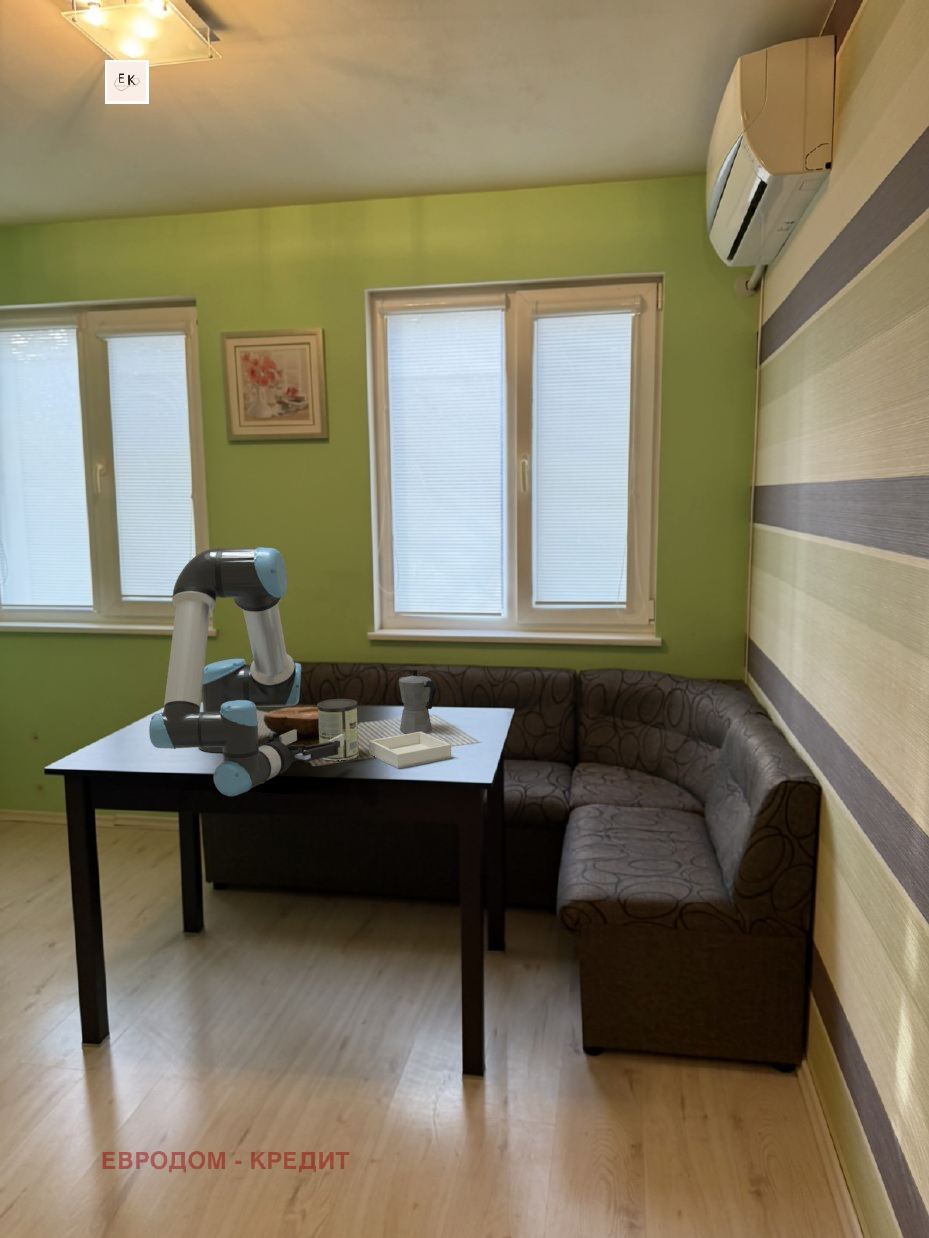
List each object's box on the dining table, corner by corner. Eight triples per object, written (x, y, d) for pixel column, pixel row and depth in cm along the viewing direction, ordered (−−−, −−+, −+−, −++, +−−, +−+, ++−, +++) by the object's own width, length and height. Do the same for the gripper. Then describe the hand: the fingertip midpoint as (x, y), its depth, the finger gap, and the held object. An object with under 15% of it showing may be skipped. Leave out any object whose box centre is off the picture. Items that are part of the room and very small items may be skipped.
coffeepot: (388, 729, 247) (387, 668, 245) (413, 723, 253) (412, 664, 251) (423, 739, 236) (422, 676, 234) (448, 733, 242) (447, 671, 240)
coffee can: (324, 749, 227) (323, 698, 225) (362, 750, 226) (361, 698, 224) (314, 761, 217) (312, 707, 215) (354, 762, 216) (352, 707, 214)
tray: (369, 753, 223) (369, 740, 222) (420, 744, 231) (420, 731, 231) (397, 768, 210) (397, 754, 209) (451, 758, 218) (451, 744, 218)
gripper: (224, 771, 197) (277, 747, 217) (316, 783, 188) (363, 756, 208) (222, 739, 196) (275, 718, 216) (315, 750, 187) (362, 726, 207)
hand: (318, 737), depth 212 cm, fingers open, 13 cm apart
